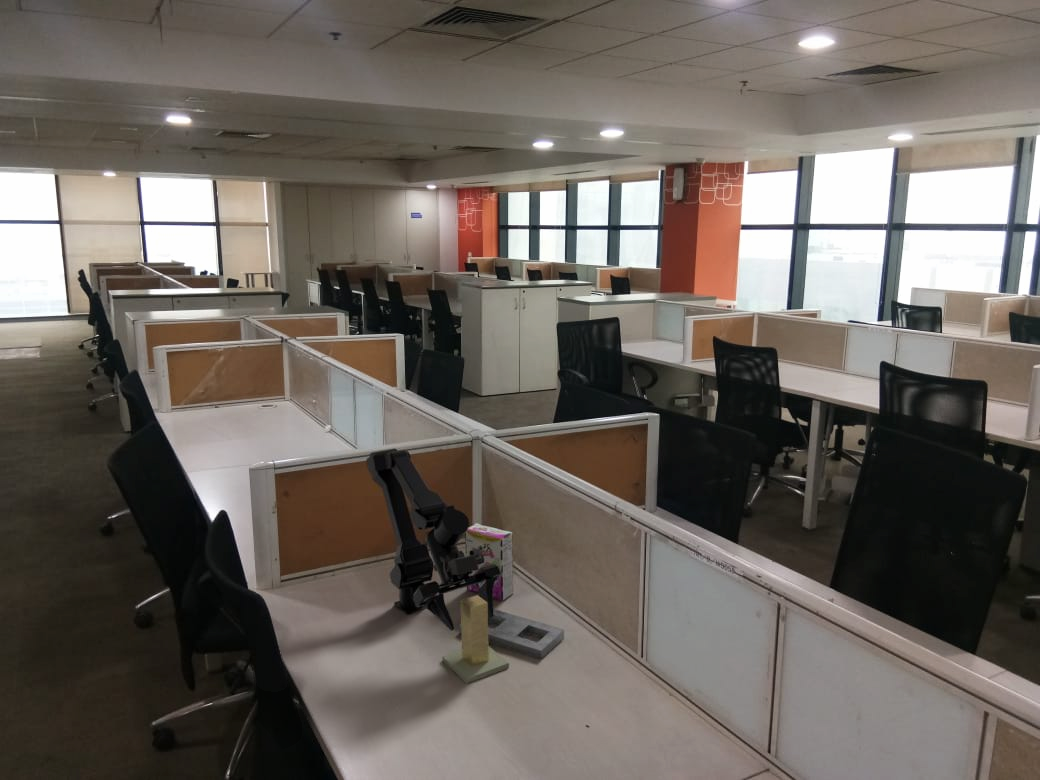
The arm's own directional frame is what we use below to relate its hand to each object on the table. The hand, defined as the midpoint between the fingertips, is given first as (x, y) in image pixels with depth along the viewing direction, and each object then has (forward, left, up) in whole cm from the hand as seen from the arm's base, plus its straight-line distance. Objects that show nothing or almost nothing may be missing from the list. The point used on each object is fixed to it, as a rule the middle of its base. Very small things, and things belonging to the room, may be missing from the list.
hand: (472, 623), depth 158 cm
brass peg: (+1, 0, -8) cm, 8 cm away
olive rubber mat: (+1, 0, -9) cm, 9 cm away
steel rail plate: (-3, +13, -9) cm, 16 cm away
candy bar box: (-22, +22, -9) cm, 33 cm away
